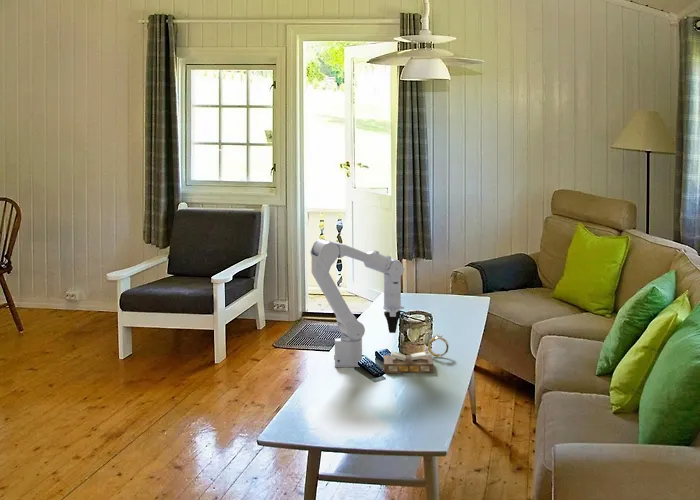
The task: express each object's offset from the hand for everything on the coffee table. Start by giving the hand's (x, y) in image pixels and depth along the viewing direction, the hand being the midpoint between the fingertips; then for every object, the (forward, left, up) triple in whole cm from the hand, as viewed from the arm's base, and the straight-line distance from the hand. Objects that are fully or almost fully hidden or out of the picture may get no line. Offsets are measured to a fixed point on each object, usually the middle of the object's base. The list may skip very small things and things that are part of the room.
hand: (392, 332), depth 288 cm
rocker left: (+2, -11, -6) cm, 12 cm away
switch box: (+5, -11, -9) cm, 15 cm away
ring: (+16, +2, -10) cm, 19 cm away
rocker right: (+9, -11, -6) cm, 15 cm away
